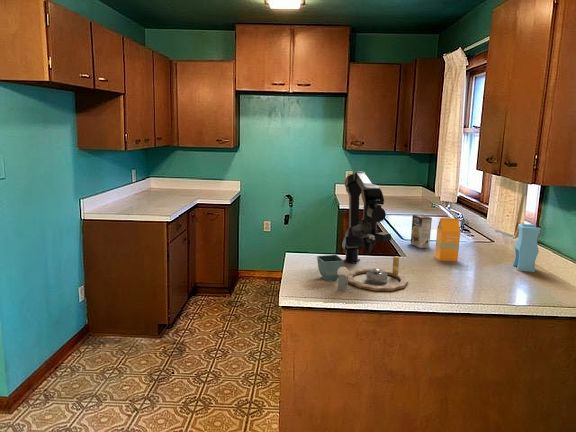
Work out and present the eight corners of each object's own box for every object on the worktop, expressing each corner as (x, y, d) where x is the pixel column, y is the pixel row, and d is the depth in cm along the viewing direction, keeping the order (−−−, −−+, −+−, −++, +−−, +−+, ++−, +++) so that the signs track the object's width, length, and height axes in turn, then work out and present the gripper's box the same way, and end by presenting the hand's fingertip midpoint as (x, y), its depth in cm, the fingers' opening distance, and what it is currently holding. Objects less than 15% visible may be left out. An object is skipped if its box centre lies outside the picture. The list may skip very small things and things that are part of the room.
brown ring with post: (356, 267, 209) (357, 249, 208) (412, 276, 199) (413, 257, 197) (338, 284, 188) (338, 264, 186) (399, 294, 177) (400, 274, 176)
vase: (535, 271, 210) (541, 228, 206) (516, 270, 211) (522, 227, 207) (530, 266, 217) (536, 224, 213) (512, 265, 219) (517, 223, 215)
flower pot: (323, 283, 190) (323, 261, 188) (316, 276, 198) (316, 255, 196) (343, 281, 192) (344, 260, 190) (335, 274, 200) (336, 254, 198)
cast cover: (369, 276, 199) (370, 265, 198) (389, 280, 195) (389, 268, 194) (363, 282, 191) (364, 270, 190) (383, 286, 188) (384, 273, 187)
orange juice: (457, 261, 224) (461, 220, 220) (439, 260, 224) (442, 219, 220) (452, 256, 231) (456, 216, 228) (434, 256, 232) (437, 216, 228)
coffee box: (409, 243, 255) (412, 214, 251) (420, 243, 256) (422, 214, 253) (419, 248, 246) (421, 217, 243) (429, 247, 248) (432, 217, 245)
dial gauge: (338, 287, 185) (339, 264, 183) (349, 289, 183) (350, 266, 182) (336, 289, 183) (336, 266, 181) (346, 291, 181) (347, 268, 179)
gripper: (340, 215, 194) (338, 251, 197) (374, 223, 180) (372, 262, 183) (358, 212, 201) (356, 247, 204) (393, 220, 187) (390, 257, 190)
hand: (368, 253), depth 195 cm, fingers closed
